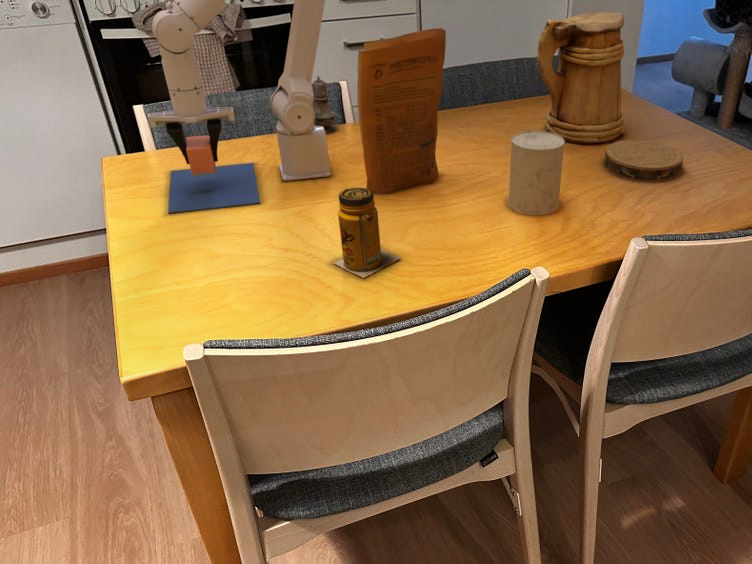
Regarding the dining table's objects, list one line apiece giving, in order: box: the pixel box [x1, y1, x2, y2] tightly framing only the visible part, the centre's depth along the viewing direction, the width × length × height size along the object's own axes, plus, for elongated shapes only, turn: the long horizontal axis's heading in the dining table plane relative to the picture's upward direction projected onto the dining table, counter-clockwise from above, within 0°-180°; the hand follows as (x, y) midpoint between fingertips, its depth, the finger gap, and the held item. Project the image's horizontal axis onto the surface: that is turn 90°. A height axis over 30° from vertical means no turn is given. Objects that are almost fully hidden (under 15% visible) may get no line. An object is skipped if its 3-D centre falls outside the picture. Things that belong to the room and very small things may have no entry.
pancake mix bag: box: [356, 27, 447, 195], centre depth 129 cm, size 7×19×28 cm, turn 125°
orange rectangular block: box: [185, 134, 217, 176], centre depth 130 cm, size 4×7×5 cm, turn 18°
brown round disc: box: [603, 139, 684, 183], centre depth 146 cm, size 16×16×3 cm
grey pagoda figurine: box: [312, 75, 337, 134], centre depth 158 cm, size 6×6×12 cm
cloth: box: [167, 162, 261, 215], centre depth 134 cm, size 16×20×1 cm
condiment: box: [332, 187, 402, 279], centre depth 109 cm, size 7×8×12 cm
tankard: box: [537, 11, 626, 145], centre depth 155 cm, size 18×24×25 cm
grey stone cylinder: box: [507, 130, 566, 216], centre depth 127 cm, size 10×10×12 cm
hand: (202, 161), depth 131 cm, fingers closed on orange rectangular block, 4 cm apart
